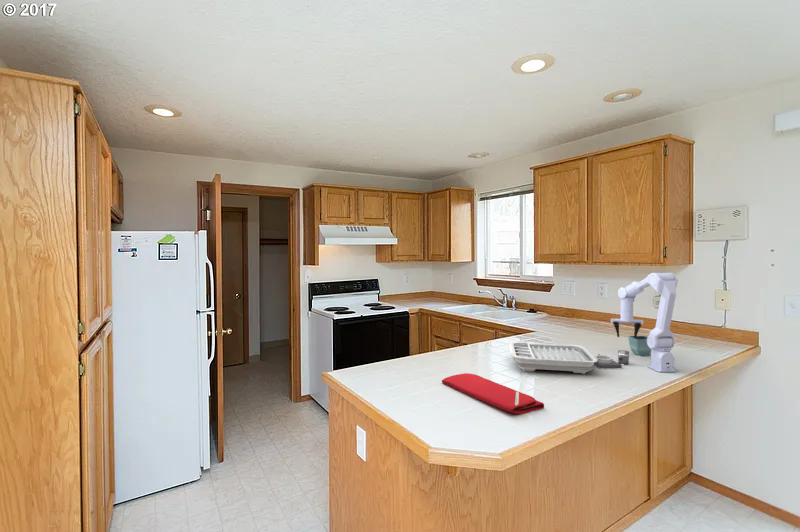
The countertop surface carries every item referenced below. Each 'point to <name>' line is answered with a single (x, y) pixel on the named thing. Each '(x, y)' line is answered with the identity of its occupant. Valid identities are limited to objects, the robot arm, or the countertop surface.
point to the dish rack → (552, 357)
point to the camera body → (606, 362)
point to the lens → (623, 357)
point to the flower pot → (639, 345)
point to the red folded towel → (493, 393)
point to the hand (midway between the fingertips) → (626, 337)
